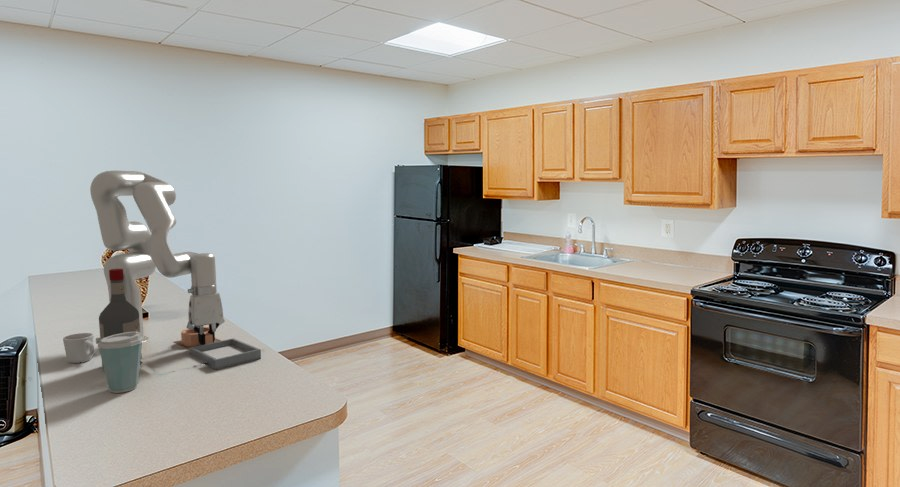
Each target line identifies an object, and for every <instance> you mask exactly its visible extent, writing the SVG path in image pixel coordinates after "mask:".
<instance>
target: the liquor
mask: <svg viewBox="0 0 900 487" xmlns="http://www.w3.org/2000/svg"><path fill="white" fill-rule="evenodd" d="M109 278H110V283H111V299H110V301H111V302H109V303H108V304H107V305H106V306H105V307H104V309H103V310H102V311H101V312H100V314H99V315H98V316H99V317H98V326H99V337H100V340H101V339H103V338H105V337H108V336H111V335H116V334H120V333H126V332H139V333H140V323H139V312H138V310H137V309H136V308H135V307H134V306H133V305H131V304H130V303H129V302H128V301H127V300H126V297H125V295H124V283H123V279H124V275H123V269H111V270H109ZM142 359H143V358H142V354H141V359H140V363H141V362H142ZM101 366H102V368H103V369H104V367H103V363H102V362H101Z"/></svg>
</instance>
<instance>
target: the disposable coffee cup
mask: <svg viewBox="0 0 900 487" xmlns="http://www.w3.org/2000/svg"><path fill="white" fill-rule="evenodd" d="M143 343H144V342H143V338H142V337H141V336H140V333H139V332H126V333H120V334H116V335H111V336H108V337H105V338H103V339H101V340H100V342H98V344H97V347H98V350H99V351H98V352H99V354H100V359H101V364H102V363H103V367H104V368H103V367H102V368H103V371H104V374H105V378H106V383H107V386H108V389H109V390H110V391H109V392H111V393H115V394H118V393H120V394H121V393H126V392H130V391H132V390H135V389H137V387H138V384H139V377H140V368H141V367H140V366H141V362H140V361H141V360H142V359H141V355H142V350H143V349H142V348H143ZM140 359H141V360H140Z"/></svg>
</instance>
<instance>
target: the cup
mask: <svg viewBox="0 0 900 487" xmlns="http://www.w3.org/2000/svg"><path fill="white" fill-rule="evenodd" d="M62 341H63V346H64V351H65V356H66V360H67V362H68V363H70V362H71V364H80V362H81V363H85V362H88V361H90V360H91V359H92V358H93V355H94V354H95V344H94V333H91V332H81V333H79V332H78V333H73V334H69V335H67V336H64V337H63V339H62Z"/></svg>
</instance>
